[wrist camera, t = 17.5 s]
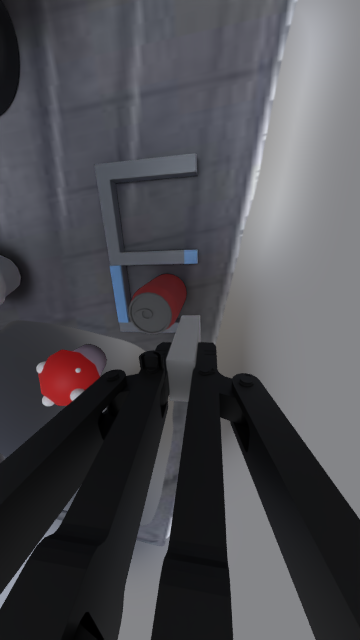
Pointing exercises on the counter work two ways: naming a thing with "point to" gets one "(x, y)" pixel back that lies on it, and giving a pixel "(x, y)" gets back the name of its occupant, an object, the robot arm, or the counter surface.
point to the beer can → (157, 304)
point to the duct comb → (112, 225)
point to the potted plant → (8, 277)
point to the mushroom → (70, 373)
